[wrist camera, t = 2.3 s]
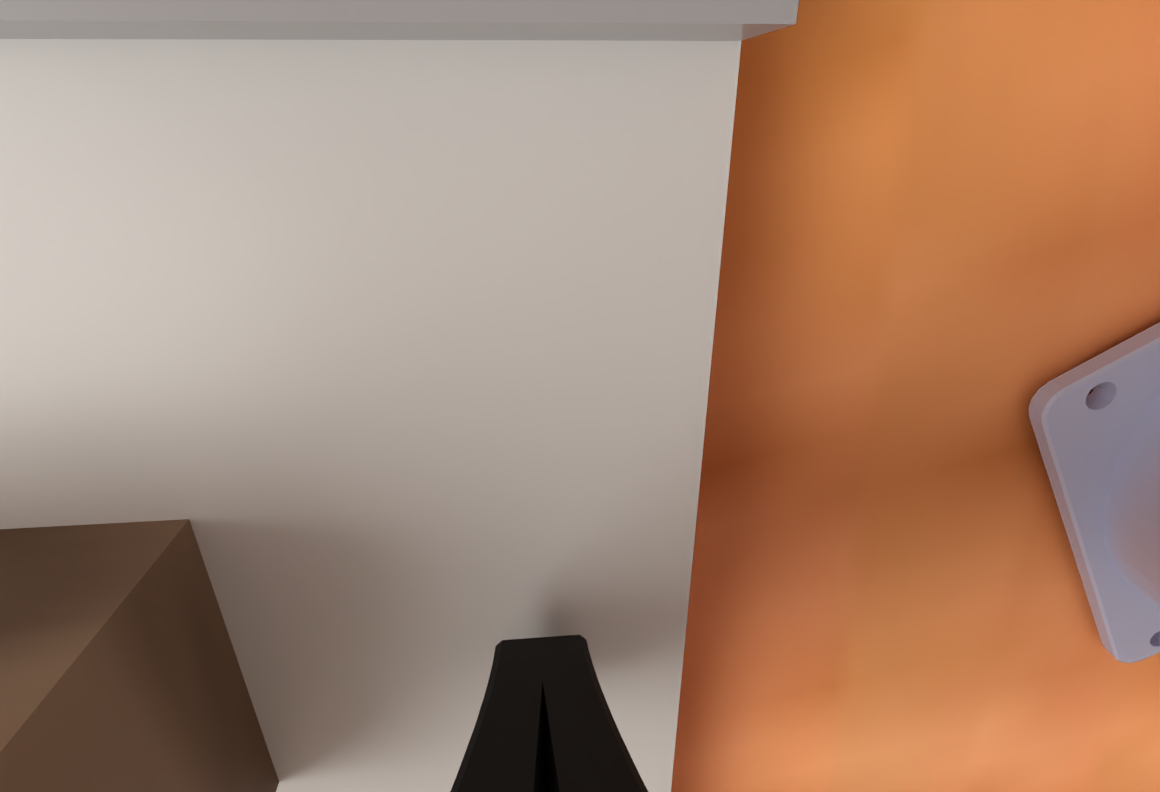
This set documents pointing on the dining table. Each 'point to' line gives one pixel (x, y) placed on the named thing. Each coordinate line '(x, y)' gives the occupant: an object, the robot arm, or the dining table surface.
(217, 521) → the trap tray
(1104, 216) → the dining table surface
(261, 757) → the walnut block
